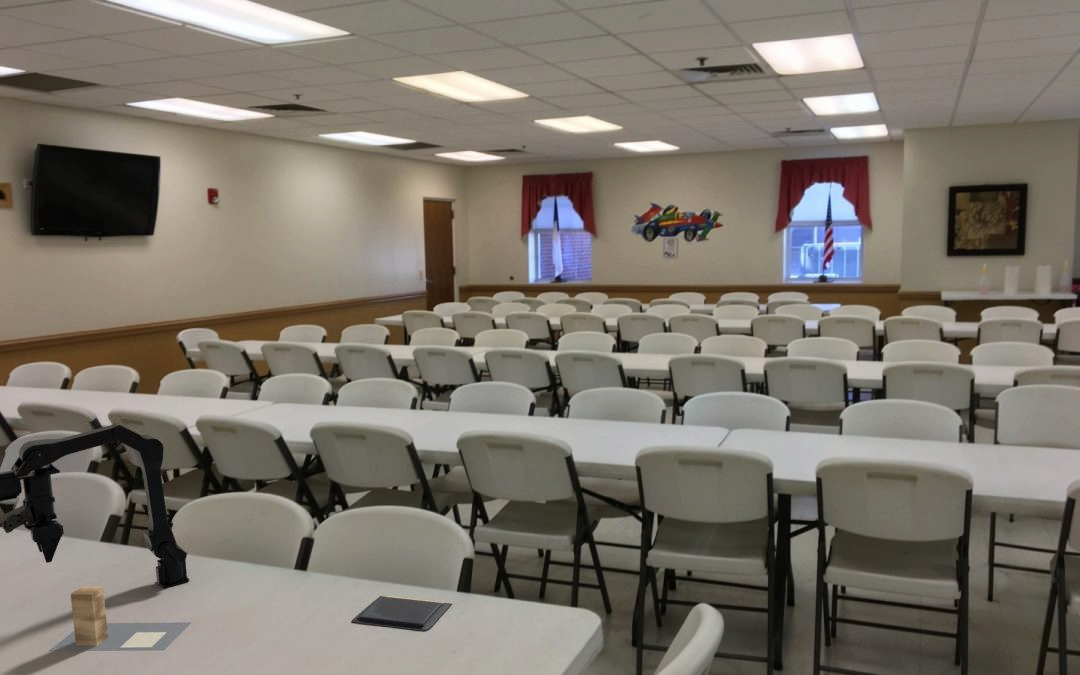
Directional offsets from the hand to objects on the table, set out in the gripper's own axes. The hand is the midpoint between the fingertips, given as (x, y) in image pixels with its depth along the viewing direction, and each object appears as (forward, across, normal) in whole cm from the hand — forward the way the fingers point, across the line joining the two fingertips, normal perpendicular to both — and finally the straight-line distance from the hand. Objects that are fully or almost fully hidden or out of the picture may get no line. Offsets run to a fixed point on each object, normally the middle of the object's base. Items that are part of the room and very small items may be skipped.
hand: (45, 556), depth 201 cm
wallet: (+16, +58, +64) cm, 88 cm away
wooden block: (+14, +23, +4) cm, 28 cm away
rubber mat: (+15, +25, +10) cm, 31 cm away
